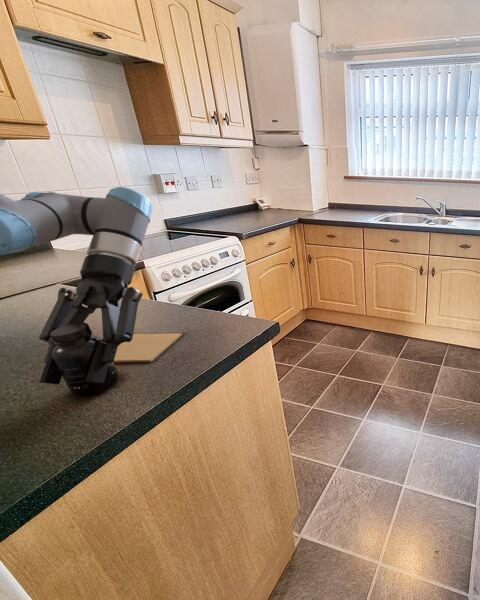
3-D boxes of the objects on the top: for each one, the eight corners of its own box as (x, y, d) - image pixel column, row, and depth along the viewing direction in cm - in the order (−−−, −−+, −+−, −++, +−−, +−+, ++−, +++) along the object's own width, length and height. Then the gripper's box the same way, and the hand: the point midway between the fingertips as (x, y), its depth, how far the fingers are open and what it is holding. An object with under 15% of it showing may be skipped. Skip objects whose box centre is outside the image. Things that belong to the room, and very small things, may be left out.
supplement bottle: (94, 374, 65) (69, 318, 60) (129, 374, 64) (106, 319, 59) (60, 398, 58) (29, 338, 53) (98, 399, 58) (70, 339, 53)
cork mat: (91, 363, 68) (90, 361, 68) (130, 335, 78) (129, 334, 78) (151, 362, 68) (150, 360, 68) (182, 335, 78) (181, 333, 78)
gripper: (175, 269, 69) (146, 384, 60) (76, 270, 68) (34, 386, 60) (150, 251, 62) (114, 378, 53) (40, 252, 61) (-13, 380, 53)
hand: (72, 382), depth 57 cm, fingers closed on supplement bottle, 7 cm apart
